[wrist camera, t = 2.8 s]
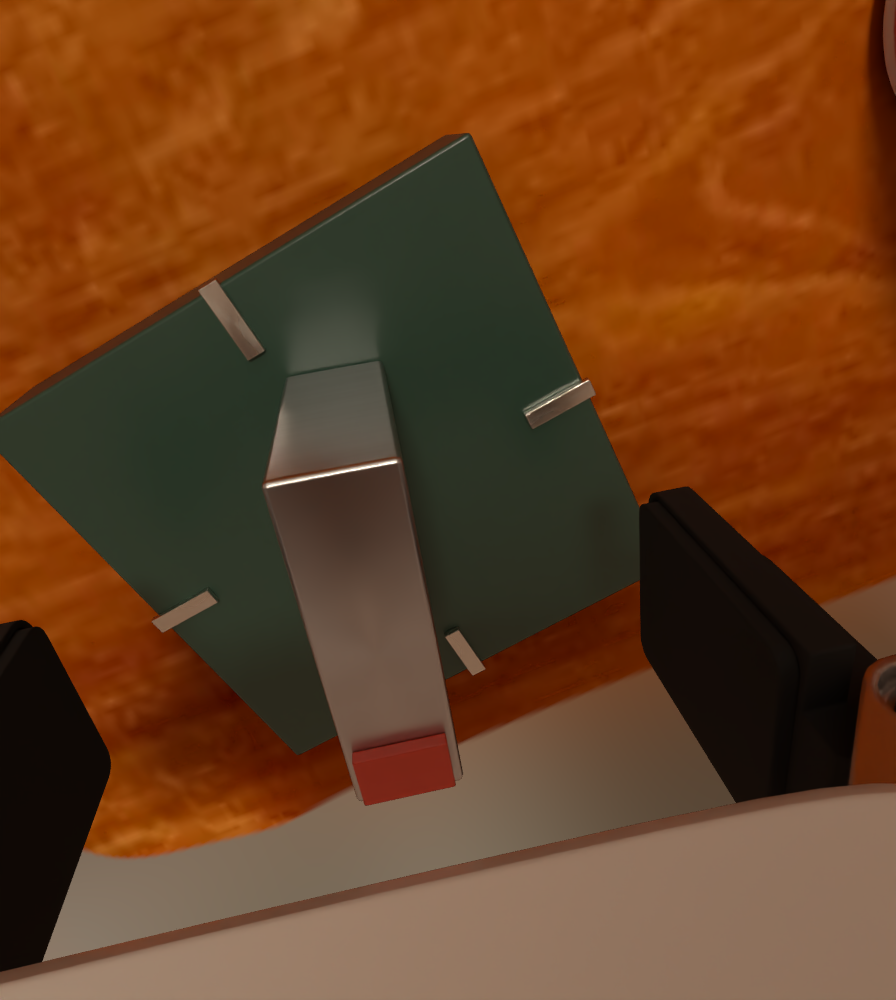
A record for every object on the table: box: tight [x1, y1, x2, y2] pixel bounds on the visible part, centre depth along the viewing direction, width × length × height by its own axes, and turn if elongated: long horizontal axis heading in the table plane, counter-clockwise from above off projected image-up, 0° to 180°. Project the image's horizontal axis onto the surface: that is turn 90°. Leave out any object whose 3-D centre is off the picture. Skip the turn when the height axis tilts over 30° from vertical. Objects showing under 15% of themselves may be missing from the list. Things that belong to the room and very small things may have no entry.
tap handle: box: [262, 361, 463, 806], centre depth 12 cm, size 6×2×5 cm, turn 8°
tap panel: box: [0, 133, 640, 755], centre depth 15 cm, size 10×10×3 cm
